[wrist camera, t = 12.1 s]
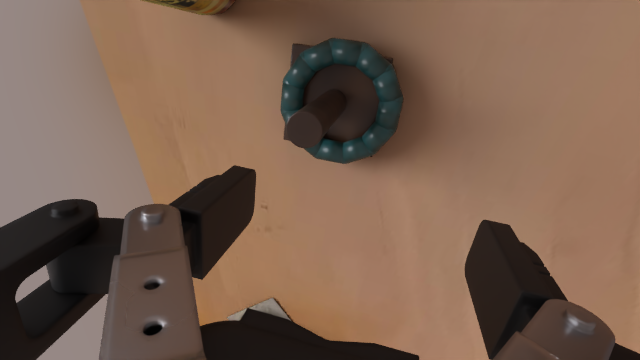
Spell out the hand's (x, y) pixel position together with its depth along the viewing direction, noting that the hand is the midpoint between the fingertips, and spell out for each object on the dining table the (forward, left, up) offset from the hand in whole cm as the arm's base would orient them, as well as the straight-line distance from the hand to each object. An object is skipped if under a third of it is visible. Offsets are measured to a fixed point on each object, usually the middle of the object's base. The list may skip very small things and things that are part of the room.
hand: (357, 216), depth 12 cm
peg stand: (+4, 0, -22) cm, 22 cm away
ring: (+4, 0, -19) cm, 20 cm away
